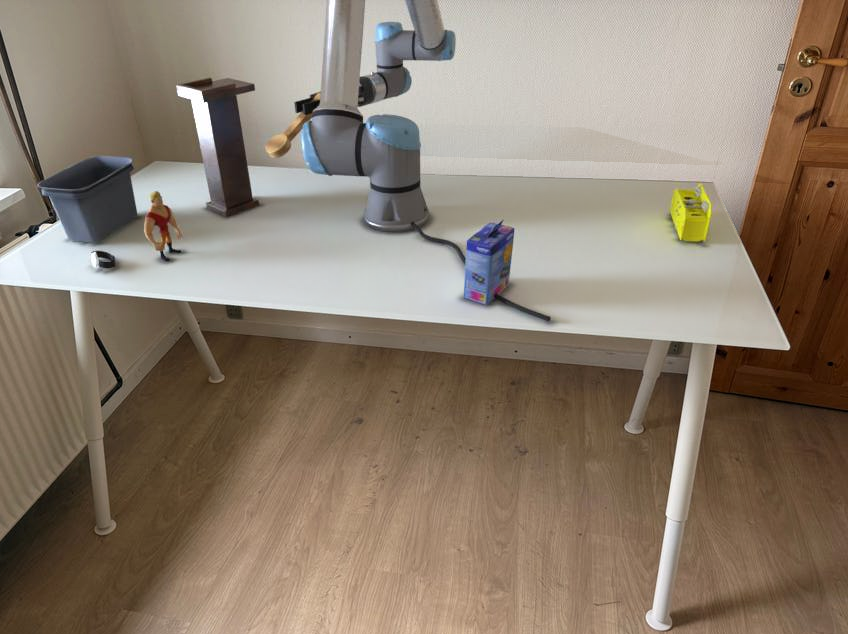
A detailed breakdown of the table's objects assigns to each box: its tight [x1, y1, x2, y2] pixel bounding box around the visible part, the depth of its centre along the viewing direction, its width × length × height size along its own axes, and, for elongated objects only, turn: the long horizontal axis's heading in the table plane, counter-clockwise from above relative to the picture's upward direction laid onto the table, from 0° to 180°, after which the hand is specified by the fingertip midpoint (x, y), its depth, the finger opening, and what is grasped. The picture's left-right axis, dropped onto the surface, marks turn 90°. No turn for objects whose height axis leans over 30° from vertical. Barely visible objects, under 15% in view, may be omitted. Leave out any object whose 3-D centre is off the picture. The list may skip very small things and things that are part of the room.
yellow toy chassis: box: [669, 182, 713, 243], centre depth 148 cm, size 16×6×8 cm, turn 168°
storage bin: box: [37, 155, 139, 244], centre depth 161 cm, size 21×16×14 cm
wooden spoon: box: [265, 93, 321, 159], centre depth 178 cm, size 22×6×2 cm
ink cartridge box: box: [463, 219, 516, 306], centre depth 127 cm, size 10×6×14 cm, turn 146°
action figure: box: [143, 190, 184, 262], centre depth 146 cm, size 10×4×15 cm, turn 158°
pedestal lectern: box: [175, 76, 260, 218], centre depth 165 cm, size 14×11×30 cm
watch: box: [90, 250, 116, 270], centre depth 147 cm, size 8×5×4 cm, turn 40°
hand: (299, 108), depth 176 cm, fingers closed on wooden spoon, 3 cm apart
